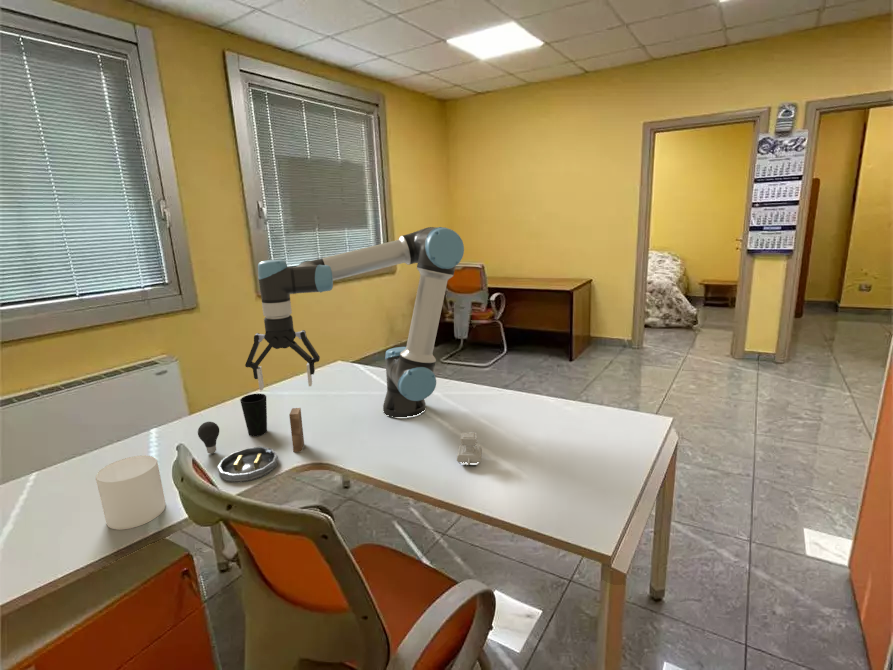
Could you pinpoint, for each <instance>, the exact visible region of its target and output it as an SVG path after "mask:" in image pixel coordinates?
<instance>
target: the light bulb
mask: <svg viewBox="0 0 893 670" xmlns="http://www.w3.org/2000/svg"><path fill="white" fill-rule="evenodd" d="M197 435H198V438H199V439H200V441H202V442H203V444H204V446H205V448H206V452H207V454H210V455H214V453H216V452H217V439H218V437H219V435H220V427H219V426H218V424H217V423H216V422H213V421H206V422H205V421H204V422H203V423H201V424H200V426H199V427H198V430H197Z"/></svg>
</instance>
